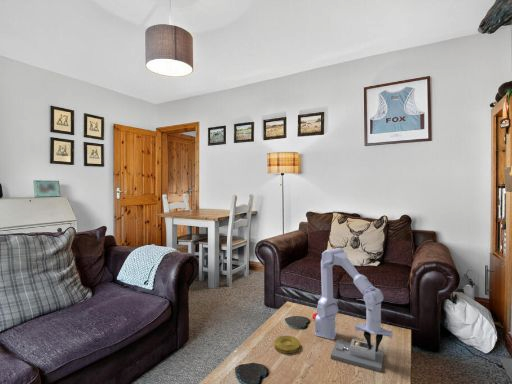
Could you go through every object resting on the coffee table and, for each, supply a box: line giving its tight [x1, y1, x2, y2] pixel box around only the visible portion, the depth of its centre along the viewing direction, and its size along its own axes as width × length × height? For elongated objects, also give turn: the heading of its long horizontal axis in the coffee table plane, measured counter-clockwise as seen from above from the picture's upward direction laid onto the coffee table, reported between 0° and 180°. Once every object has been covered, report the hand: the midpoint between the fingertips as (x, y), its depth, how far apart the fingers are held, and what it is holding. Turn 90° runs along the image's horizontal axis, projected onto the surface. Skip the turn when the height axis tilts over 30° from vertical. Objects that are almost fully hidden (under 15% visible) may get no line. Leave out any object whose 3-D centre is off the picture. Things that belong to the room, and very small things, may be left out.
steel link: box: [350, 338, 376, 361], centre depth 124 cm, size 10×6×4 cm, turn 62°
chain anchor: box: [336, 343, 348, 351], centre depth 128 cm, size 5×4×1 cm
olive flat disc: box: [273, 335, 301, 355], centre depth 133 cm, size 12×12×2 cm
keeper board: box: [330, 338, 385, 373], centre depth 125 cm, size 20×14×6 cm
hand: (373, 349), depth 122 cm, fingers closed
